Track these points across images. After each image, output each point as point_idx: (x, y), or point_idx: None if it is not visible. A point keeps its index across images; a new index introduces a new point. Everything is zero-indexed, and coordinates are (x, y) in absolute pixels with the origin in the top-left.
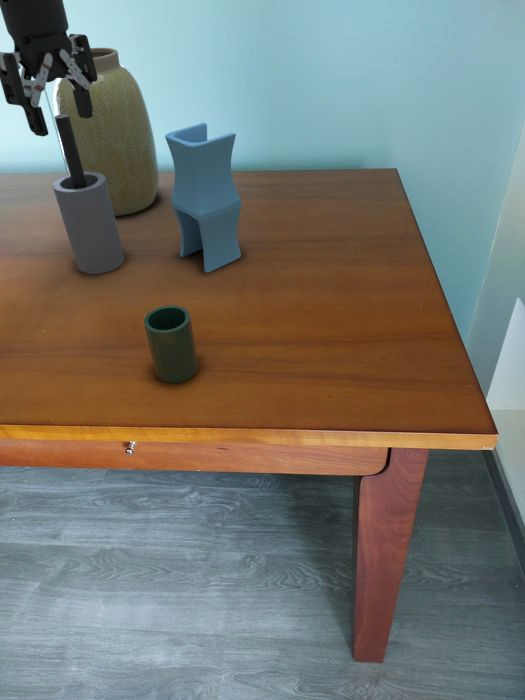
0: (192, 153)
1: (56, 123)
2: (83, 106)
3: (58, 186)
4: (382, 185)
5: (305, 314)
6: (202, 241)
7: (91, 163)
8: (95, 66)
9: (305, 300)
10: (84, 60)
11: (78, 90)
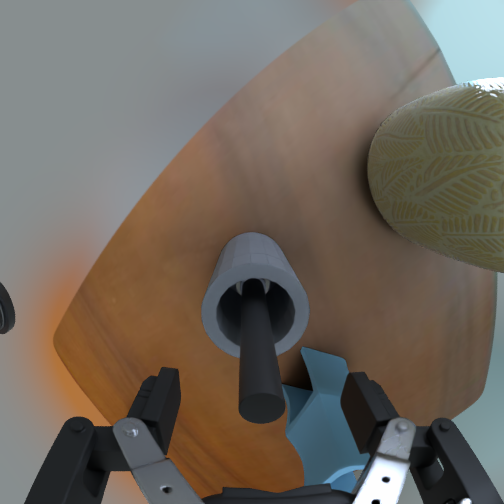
0: None
1: (239, 393)
2: (351, 413)
3: (217, 293)
4: (461, 406)
5: (250, 457)
6: (289, 405)
7: (403, 192)
8: None
9: (267, 453)
10: (428, 500)
11: (373, 437)
